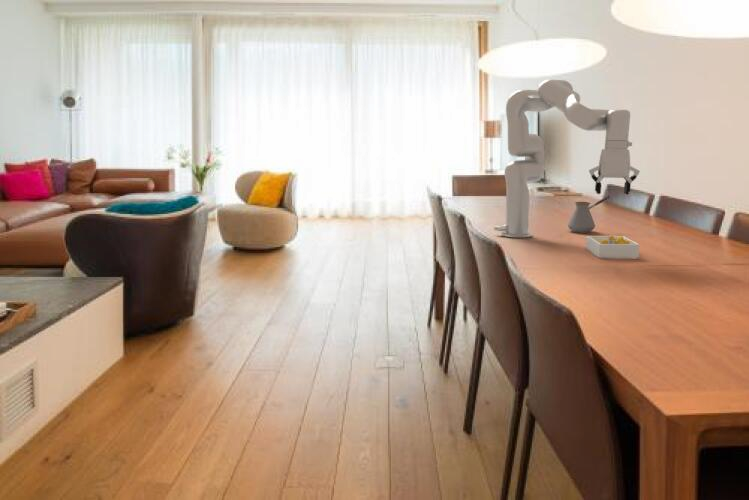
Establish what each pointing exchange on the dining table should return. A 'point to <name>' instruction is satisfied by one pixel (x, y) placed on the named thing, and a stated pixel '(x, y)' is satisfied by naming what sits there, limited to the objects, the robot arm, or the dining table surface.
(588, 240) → the bin
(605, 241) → the pressure relief valve
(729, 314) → the dining table surface
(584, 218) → the coffee pot
